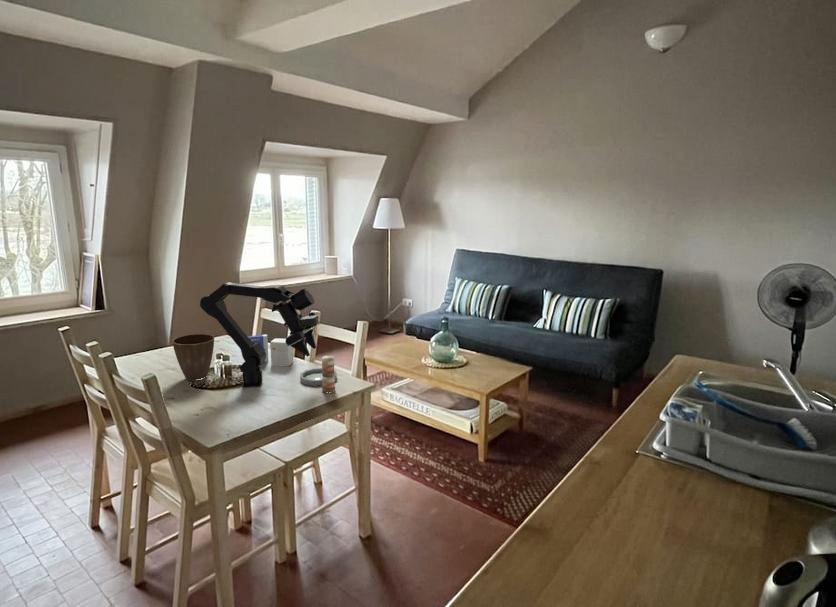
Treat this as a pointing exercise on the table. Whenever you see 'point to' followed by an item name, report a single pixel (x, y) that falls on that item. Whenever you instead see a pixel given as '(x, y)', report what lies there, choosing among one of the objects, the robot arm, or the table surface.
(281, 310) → the robot arm
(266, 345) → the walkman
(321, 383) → the round tray
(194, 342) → the plant pot
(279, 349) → the small box
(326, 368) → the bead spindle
